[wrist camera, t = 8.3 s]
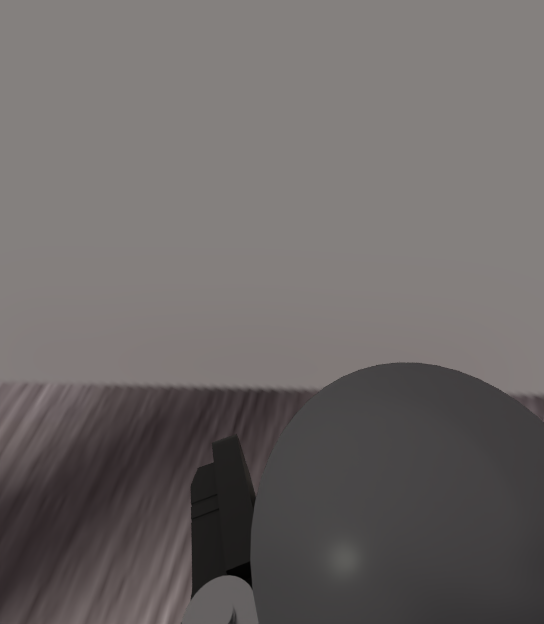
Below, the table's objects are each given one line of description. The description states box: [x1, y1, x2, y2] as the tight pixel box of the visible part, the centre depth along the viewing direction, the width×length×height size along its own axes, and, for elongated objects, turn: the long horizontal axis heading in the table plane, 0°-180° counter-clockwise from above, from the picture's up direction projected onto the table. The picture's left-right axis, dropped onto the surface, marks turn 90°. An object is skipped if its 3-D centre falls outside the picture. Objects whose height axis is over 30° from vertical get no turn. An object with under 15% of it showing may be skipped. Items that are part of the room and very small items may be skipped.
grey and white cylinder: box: [250, 363, 544, 624], centre depth 8 cm, size 4×4×10 cm
